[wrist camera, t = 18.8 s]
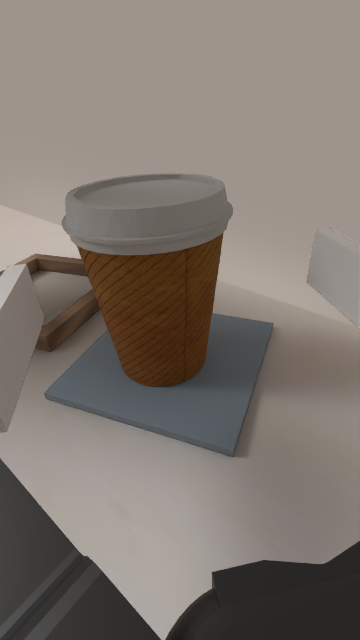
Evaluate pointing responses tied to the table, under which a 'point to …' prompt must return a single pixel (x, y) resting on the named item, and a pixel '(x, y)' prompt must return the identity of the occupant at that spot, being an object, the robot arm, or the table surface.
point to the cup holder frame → (71, 316)
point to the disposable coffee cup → (152, 266)
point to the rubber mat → (175, 387)
